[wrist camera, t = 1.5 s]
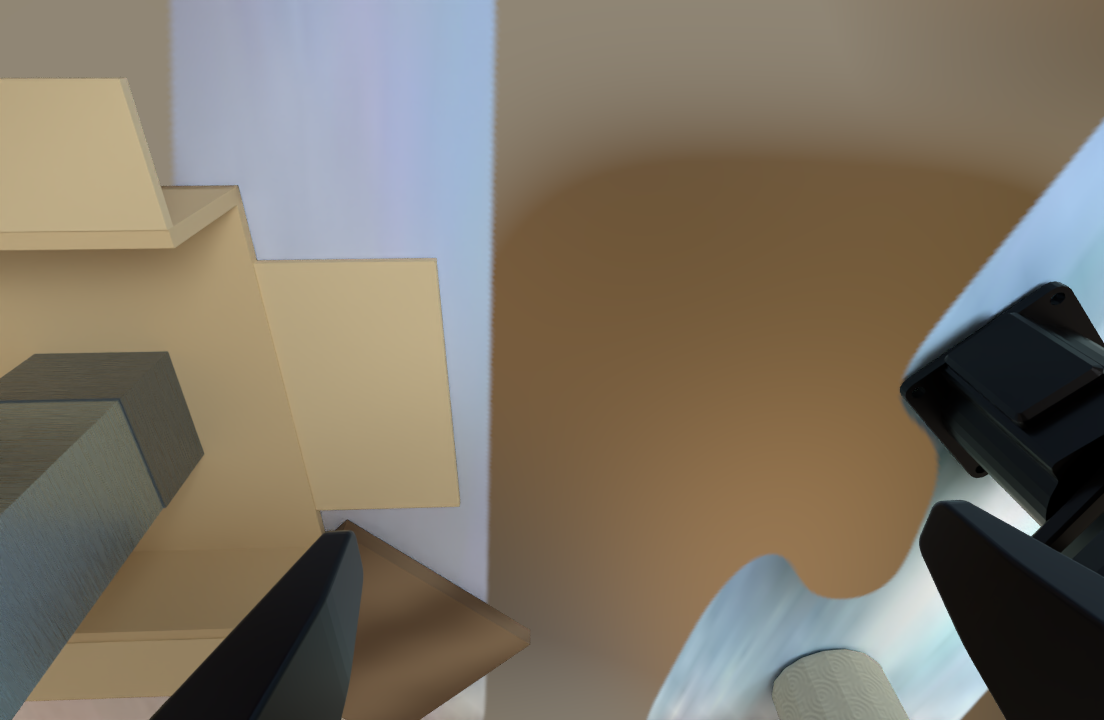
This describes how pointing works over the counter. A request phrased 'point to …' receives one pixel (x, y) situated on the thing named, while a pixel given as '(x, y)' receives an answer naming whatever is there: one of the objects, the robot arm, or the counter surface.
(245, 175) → the counter surface
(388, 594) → the board
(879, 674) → the tall white block
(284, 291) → the carton
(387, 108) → the counter surface
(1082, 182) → the counter surface
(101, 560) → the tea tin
